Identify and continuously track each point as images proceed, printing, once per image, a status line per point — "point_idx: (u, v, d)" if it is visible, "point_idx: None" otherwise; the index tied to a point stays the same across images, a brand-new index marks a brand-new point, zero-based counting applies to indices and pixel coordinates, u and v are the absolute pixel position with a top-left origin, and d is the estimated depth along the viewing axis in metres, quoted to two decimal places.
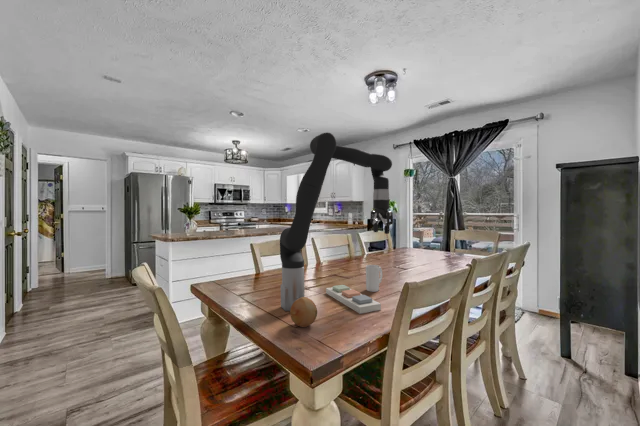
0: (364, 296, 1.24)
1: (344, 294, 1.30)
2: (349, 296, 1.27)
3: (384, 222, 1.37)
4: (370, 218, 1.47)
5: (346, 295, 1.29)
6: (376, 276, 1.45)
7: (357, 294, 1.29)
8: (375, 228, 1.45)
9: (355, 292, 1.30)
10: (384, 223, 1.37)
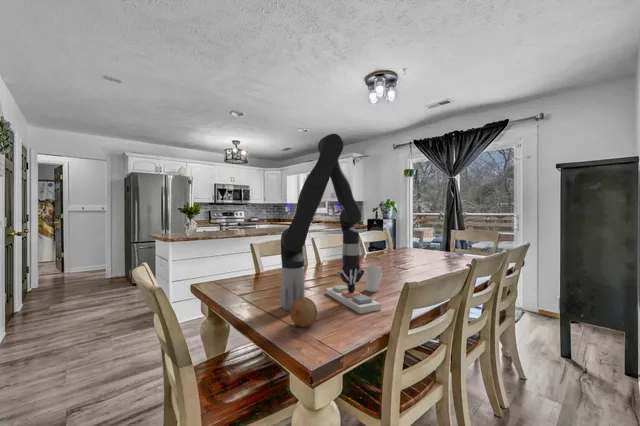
0: (364, 296, 1.24)
1: (344, 294, 1.30)
2: (349, 296, 1.27)
3: (354, 280, 1.30)
4: (344, 280, 1.28)
5: (346, 295, 1.29)
6: (376, 276, 1.45)
7: (357, 294, 1.29)
8: None
9: (355, 292, 1.30)
10: (353, 281, 1.30)
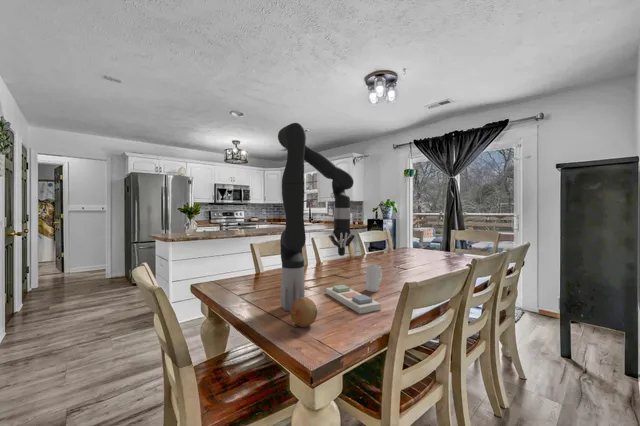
0: (364, 296, 1.24)
1: None
2: None
3: (344, 243, 1.35)
4: (334, 243, 1.33)
5: None
6: (376, 276, 1.45)
7: None
8: None
9: (355, 295, 1.30)
10: (343, 244, 1.35)
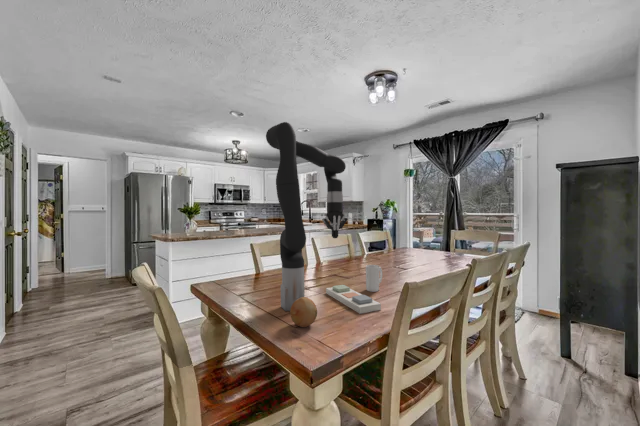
0: (364, 296, 1.24)
1: None
2: None
3: (337, 226, 1.39)
4: (328, 226, 1.37)
5: None
6: (376, 276, 1.45)
7: None
8: None
9: (355, 295, 1.30)
10: (337, 227, 1.39)
